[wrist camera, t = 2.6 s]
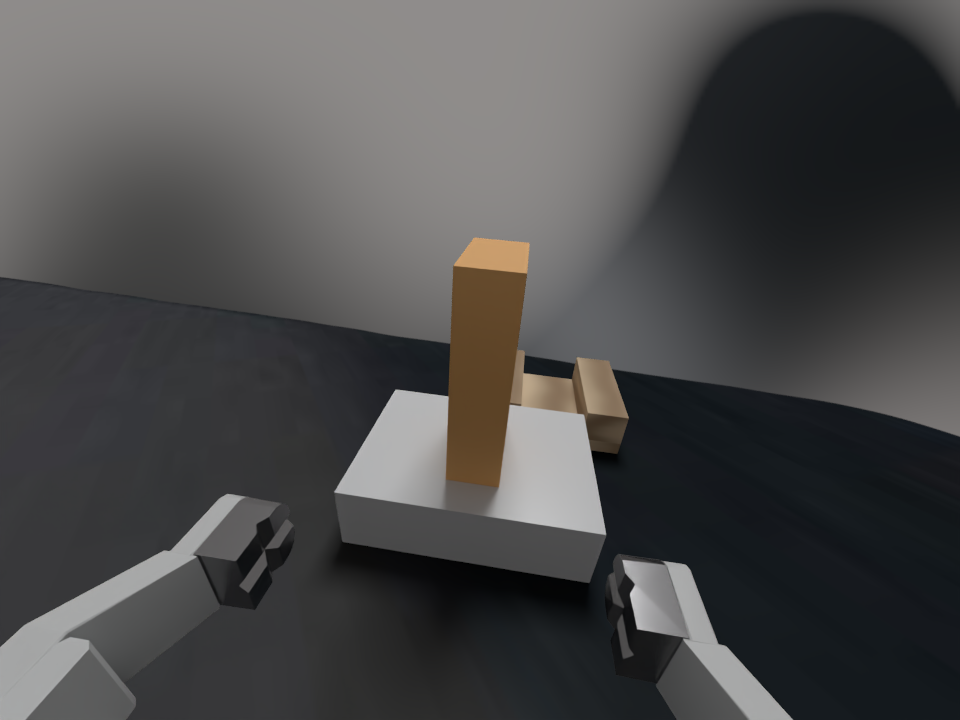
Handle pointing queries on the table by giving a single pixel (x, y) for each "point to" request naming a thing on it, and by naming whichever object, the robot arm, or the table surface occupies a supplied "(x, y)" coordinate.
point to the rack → (577, 399)
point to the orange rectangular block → (483, 356)
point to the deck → (476, 492)
